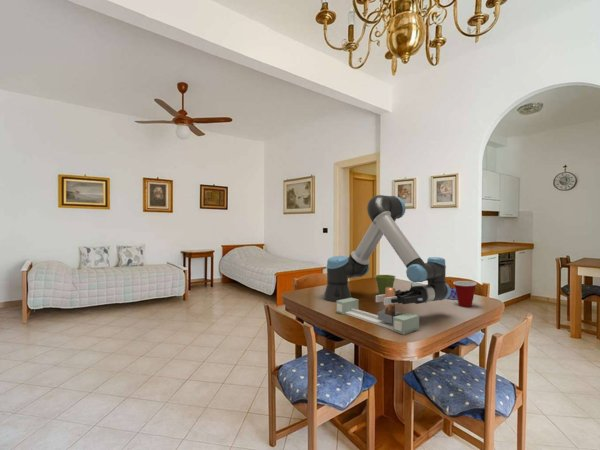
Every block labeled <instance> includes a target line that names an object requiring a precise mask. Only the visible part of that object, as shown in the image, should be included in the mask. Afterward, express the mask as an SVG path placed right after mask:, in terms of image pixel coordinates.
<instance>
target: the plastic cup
mask: <svg viewBox="0 0 600 450" xmlns="http://www.w3.org/2000/svg"><path fill="white" fill-rule="evenodd" d="M452 284H453V285H454V288H455V289H456V293H457V298H458V299H457V302H458V305H459V306H460V307H463V308H464V307H465V308H471V307H472V305H473V302H474V296H475V291H476V286H477V284H478V283H477V282H476V281H471V280H458V281H457V280H456V281H453V283H452Z"/></svg>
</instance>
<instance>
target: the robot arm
mask: <svg viewBox="0 0 600 450" xmlns="http://www.w3.org/2000/svg"><path fill="white" fill-rule="evenodd" d="M405 204H406V203H405V201H404V200H403V199H402V198H401V197H399V196H395V195H383V194H377V195H374V196H373V197H371V198H370V199H369V201H368V202H367V206H366V210H367V214H368V218H369V219H370V220H371V223H370V225H369V226H368V228H367V230H366V232H365V234H364V235H363V237H362V239H360V241H359V244H358V246H356V247H357V248H356V249H355V250H353V251H351V253H350V254H349V256H347V255H335V256H331V257H329V258H328V259H327V263H326V288H325V291H324V294H323V299H324V300H326V301H330V302H336V301H337V300H342V299H347V298H352V293H351V291H350V287H349V279H353V278H361V277H363V276H366V275H367V274H368V272H369V270H370V257H371V256H372V254H373V252H374V250H375V249H376V247H377V246H378V244H379V242H380V240H381V239H382V237H383V236H384V237H385V239H386V240H387V241H388V243H389V245H391V247H392V249H393V250H394V252H395V253H396V255H397V256H398V258H399V259H400V260H401V262H402V263H403V265H404V266H405V268H406V271H405V272H406V277H407V279H408V280H409V281H411V283H422V282H426V281H427V284H424V285H420V286H413V287H411V286H410V288H409V290H408V289H407V290H401V289H397V290H395V296H394V297H387V298H385V294H383V295H379V294H378V295H377V294H376V295H375V303H382V302H383V306H385V305H389V304H395V305H396V304H402V305H407V304H408V305H410V304H416V305H417V304H418V305H419V304H423V303H424V304H427V303H431V302H435V301H436V302H437V301H438V302H439V301H443V300H447V298H448V297H449V296H450V294H451V289H450V288H451V287H450V285H449V284H448V283H447V282H446V269H447V265H446V259H445V258H444V257H437V256H433V257H432V256H431V257H428V258H427V262H424V260H423V259H422V257H421V256H420V255H419V253H418V252H417V251H416V250H415V248H414V247H413V245H412V243H411V242H410V241H409V240H408V239H407V237H406V235H405V234H404V233H403V232H402V229H400V227H399V226H398V225H397V223H396V220H397V219H398V220H399V219H401V218H402V217H403V216H404V215H405V213H406V205H405Z"/></svg>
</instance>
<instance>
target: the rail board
mask: <svg viewBox="0 0 600 450" xmlns="http://www.w3.org/2000/svg"><path fill="white" fill-rule="evenodd" d="M359 300H360V299H357V298H354V297H351V298H347V299H342V300H337V301H335V302H336V303H335V305H336V306H335V307H336V308H335V309H336V311H335V312H336V313H338V314H340V315H344V316H345V315H346V316H349V317H352V318H356V319H357V320H358V319H359V320H361V321H365V322H367V323H371V324H374V325H376V326H380V327H383V328H385V329H389V330H392V331H393V332H394V333H398V334H400V335H403V336H404V335H407V334H411V333H414V332H416V331H419V330H420V315H418V314H415V313H410V312H406V313H403V314H402V315H399V316H395V317H393V323H389V322H386V321H382V320H379V319H378V314H374V313H371V312H367V311H364V310H360V309H359V308H360V307H359V304H360V303H359V302H360V301H359Z"/></svg>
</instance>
